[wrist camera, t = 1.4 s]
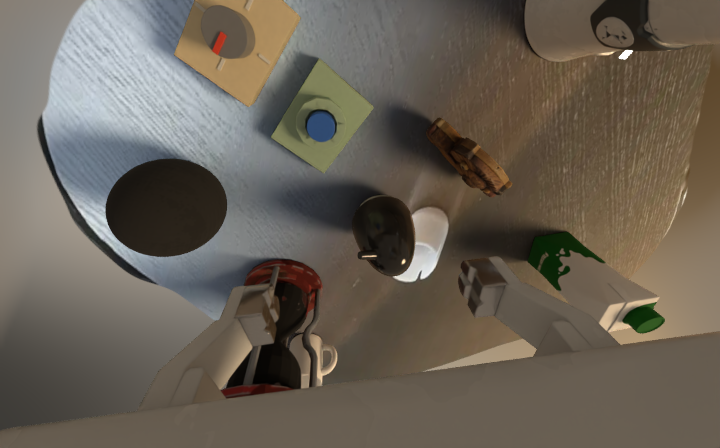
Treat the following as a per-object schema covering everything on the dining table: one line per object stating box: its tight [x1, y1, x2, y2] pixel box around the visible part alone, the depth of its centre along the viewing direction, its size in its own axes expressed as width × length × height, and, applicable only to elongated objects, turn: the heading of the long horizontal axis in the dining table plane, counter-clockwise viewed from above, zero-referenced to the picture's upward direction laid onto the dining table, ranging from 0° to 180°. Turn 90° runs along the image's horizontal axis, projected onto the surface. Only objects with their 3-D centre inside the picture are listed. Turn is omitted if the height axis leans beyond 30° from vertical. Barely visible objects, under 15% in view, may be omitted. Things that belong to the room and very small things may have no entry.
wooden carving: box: [426, 118, 512, 197], centre depth 38 cm, size 16×5×10 cm, turn 54°
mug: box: [289, 334, 337, 389], centre depth 63 cm, size 12×8×10 cm
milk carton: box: [528, 232, 665, 333], centre depth 48 cm, size 9×9×20 cm
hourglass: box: [221, 259, 322, 399], centre depth 45 cm, size 16×16×25 cm
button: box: [307, 111, 335, 142], centre depth 34 cm, size 4×4×2 cm
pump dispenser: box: [352, 195, 415, 276], centre depth 41 cm, size 10×10×15 cm
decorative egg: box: [106, 159, 227, 257], centre depth 35 cm, size 12×12×15 cm
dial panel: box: [174, 0, 301, 107], centre depth 30 cm, size 12×9×3 cm
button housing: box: [271, 59, 374, 173], centre depth 36 cm, size 12×9×4 cm
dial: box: [201, 5, 255, 59], centre depth 28 cm, size 4×4×4 cm
